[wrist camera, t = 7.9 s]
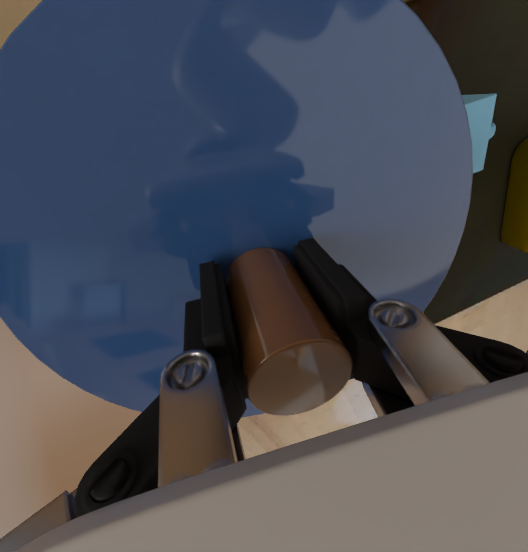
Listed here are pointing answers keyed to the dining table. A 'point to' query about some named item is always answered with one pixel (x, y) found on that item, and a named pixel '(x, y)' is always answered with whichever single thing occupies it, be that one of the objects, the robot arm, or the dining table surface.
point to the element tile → (517, 201)
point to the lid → (220, 181)
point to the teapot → (480, 125)
